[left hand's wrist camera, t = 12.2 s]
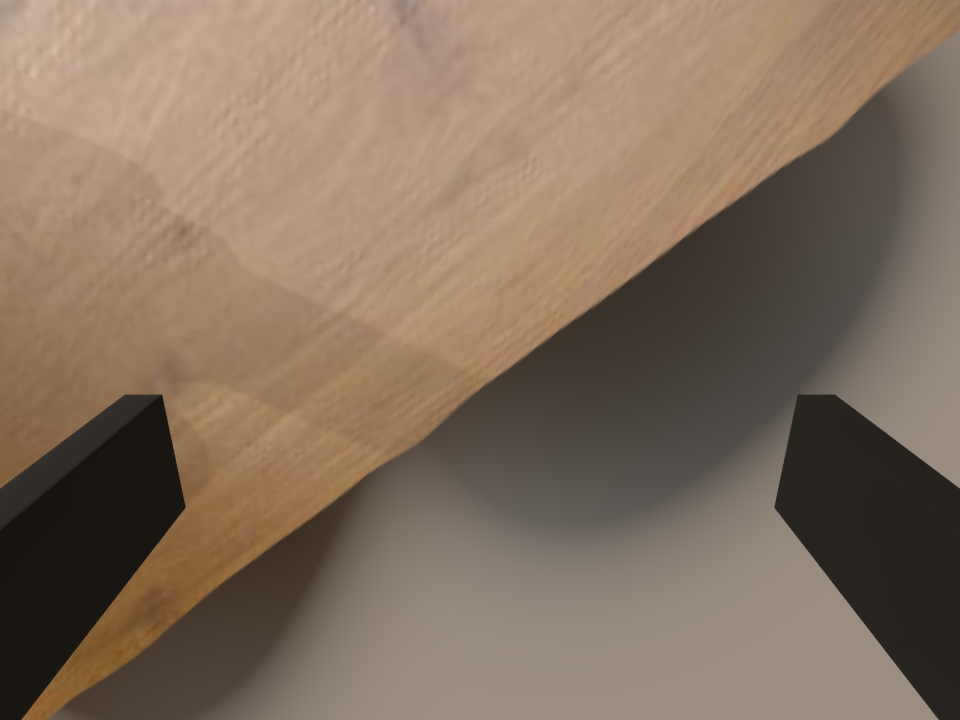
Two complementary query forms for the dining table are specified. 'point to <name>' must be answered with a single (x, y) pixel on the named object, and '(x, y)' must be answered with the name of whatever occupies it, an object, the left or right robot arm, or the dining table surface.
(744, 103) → the dining table surface
